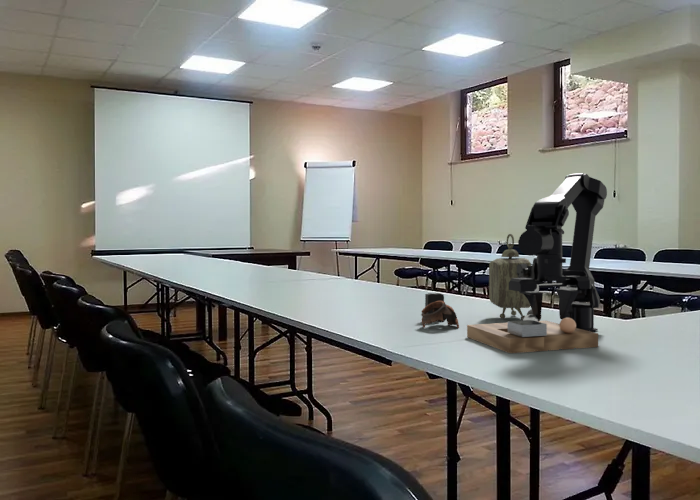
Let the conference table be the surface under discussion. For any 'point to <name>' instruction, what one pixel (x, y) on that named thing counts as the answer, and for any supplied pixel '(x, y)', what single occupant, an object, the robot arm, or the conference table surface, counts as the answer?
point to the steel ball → (531, 317)
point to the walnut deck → (531, 338)
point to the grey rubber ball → (531, 313)
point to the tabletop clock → (506, 281)
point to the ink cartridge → (433, 299)
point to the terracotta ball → (567, 325)
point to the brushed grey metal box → (527, 328)
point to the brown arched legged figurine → (439, 314)
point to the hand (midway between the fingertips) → (549, 320)
